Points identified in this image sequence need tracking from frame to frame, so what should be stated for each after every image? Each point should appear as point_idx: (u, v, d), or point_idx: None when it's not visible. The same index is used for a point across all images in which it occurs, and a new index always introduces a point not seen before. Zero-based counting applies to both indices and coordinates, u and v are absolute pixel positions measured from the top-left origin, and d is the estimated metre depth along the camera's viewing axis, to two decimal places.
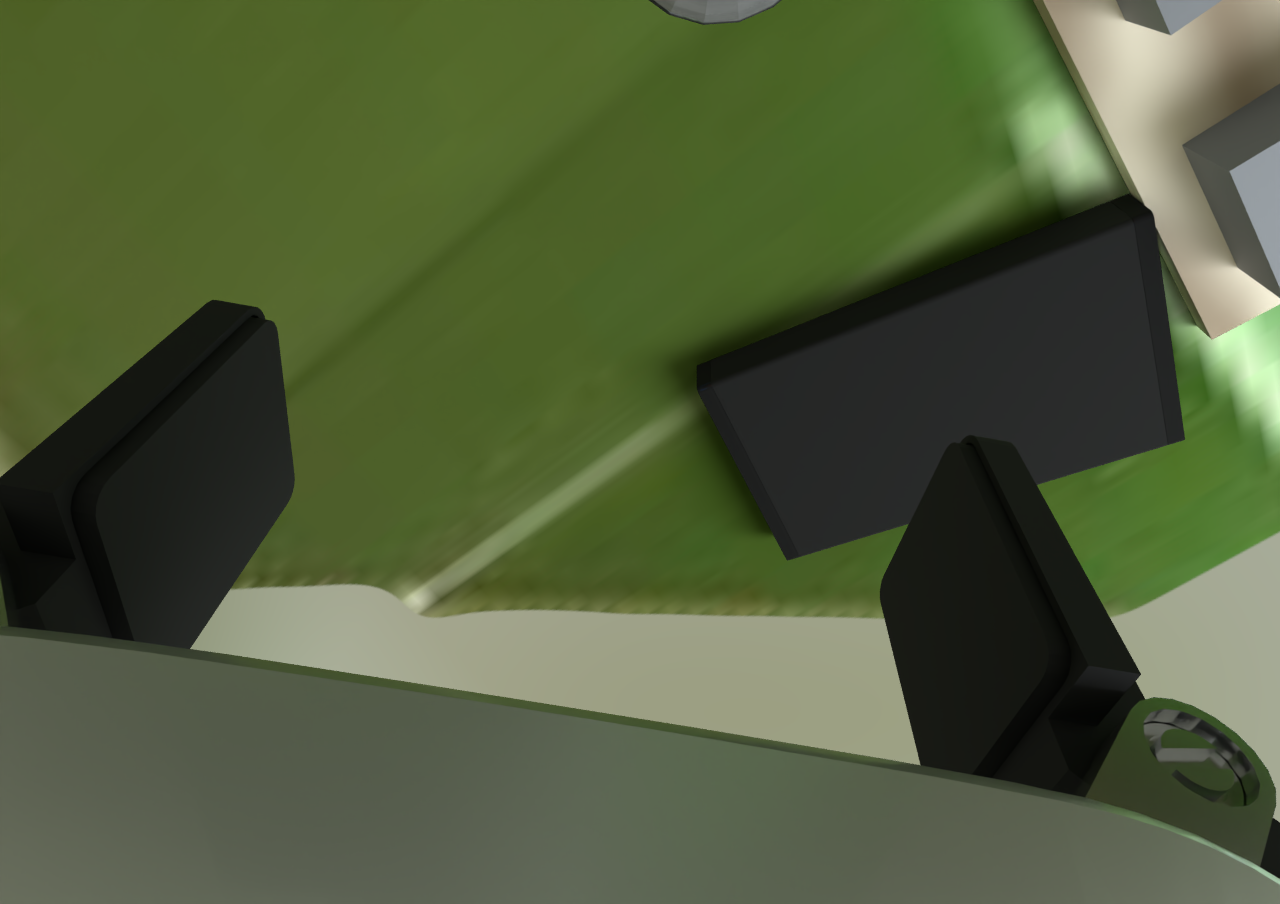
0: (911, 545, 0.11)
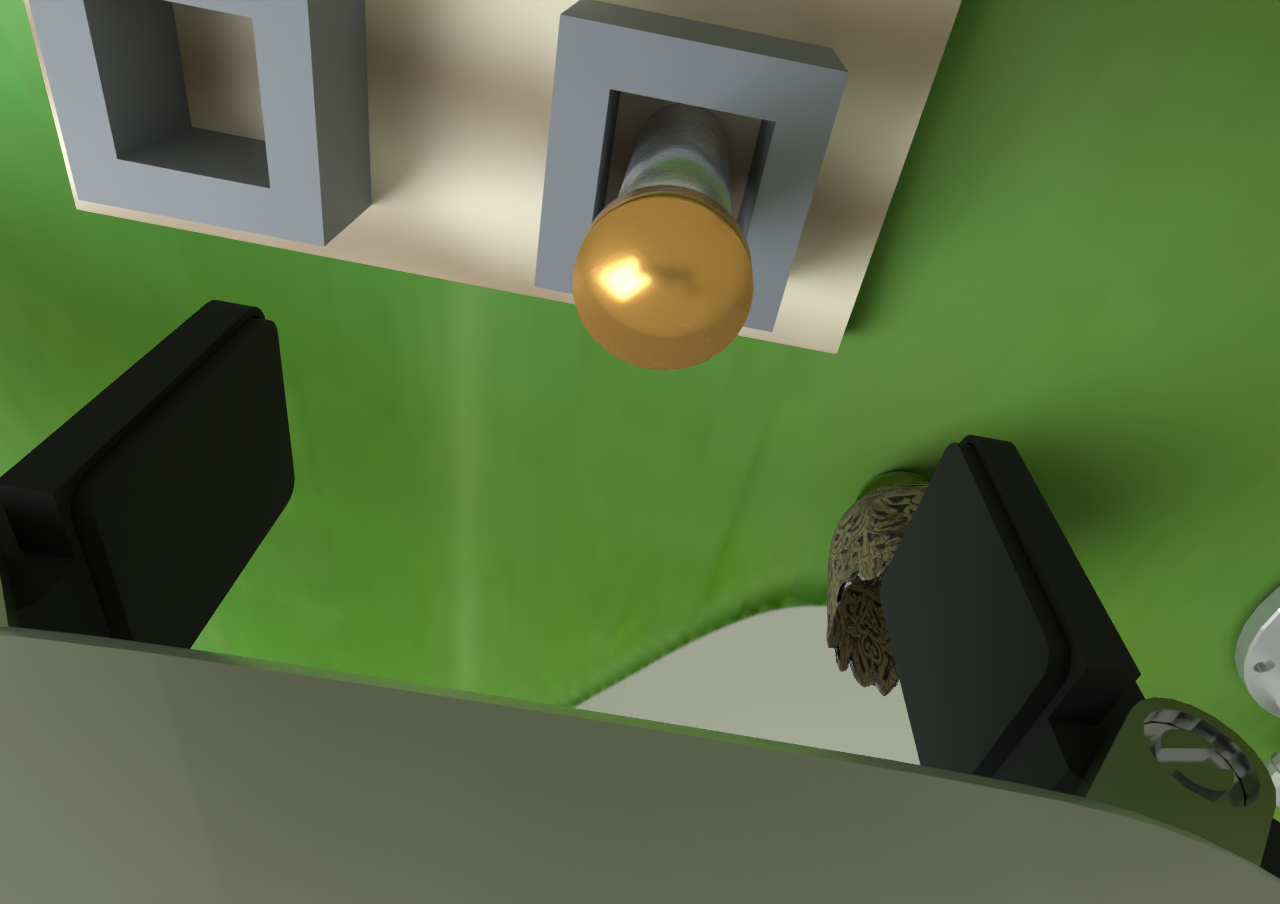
0: (911, 545, 0.11)
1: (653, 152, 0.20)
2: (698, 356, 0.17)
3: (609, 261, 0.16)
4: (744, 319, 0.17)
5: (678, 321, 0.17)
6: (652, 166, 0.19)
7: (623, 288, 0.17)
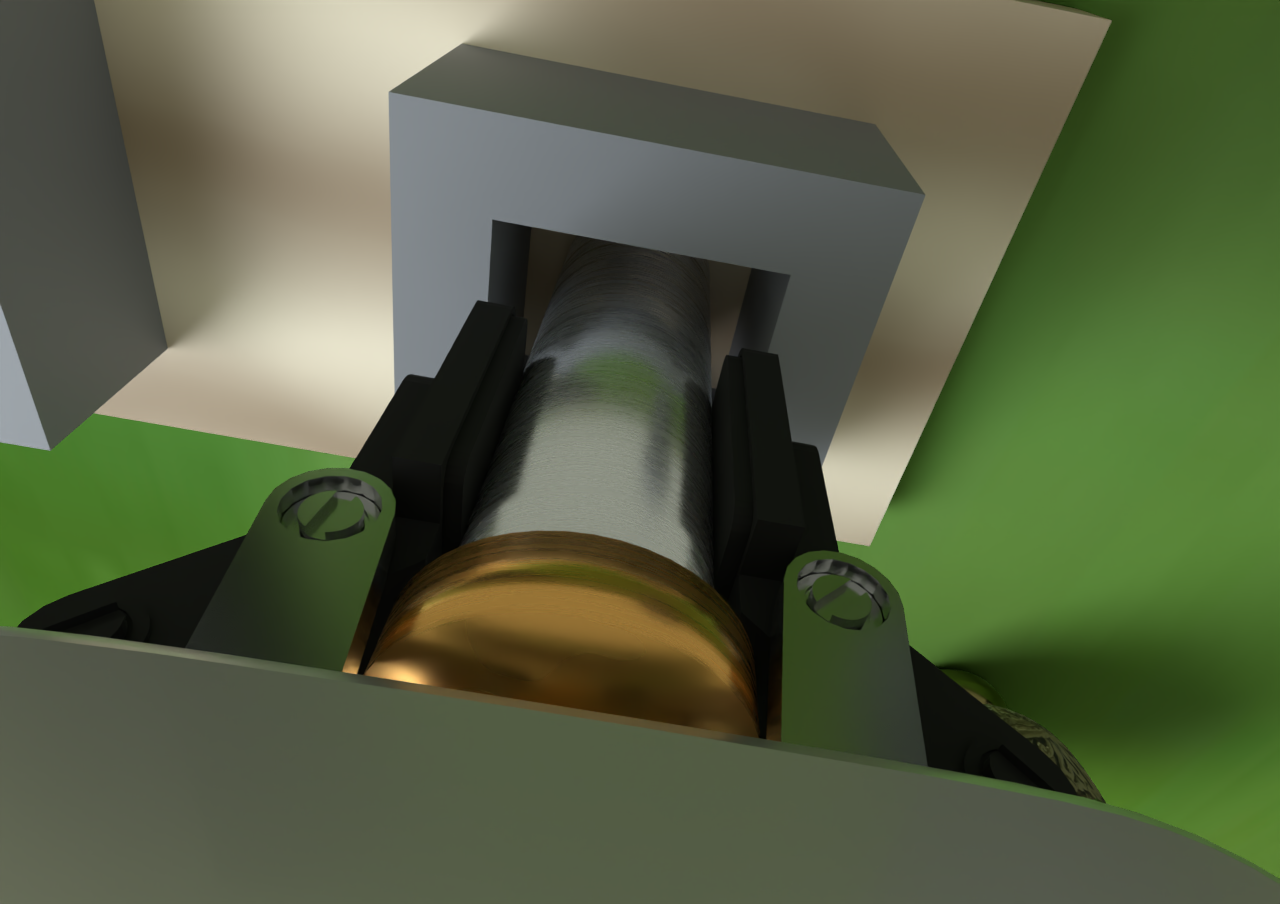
0: None
1: (568, 344, 0.11)
2: None
3: None
4: None
5: None
6: (557, 395, 0.10)
7: None
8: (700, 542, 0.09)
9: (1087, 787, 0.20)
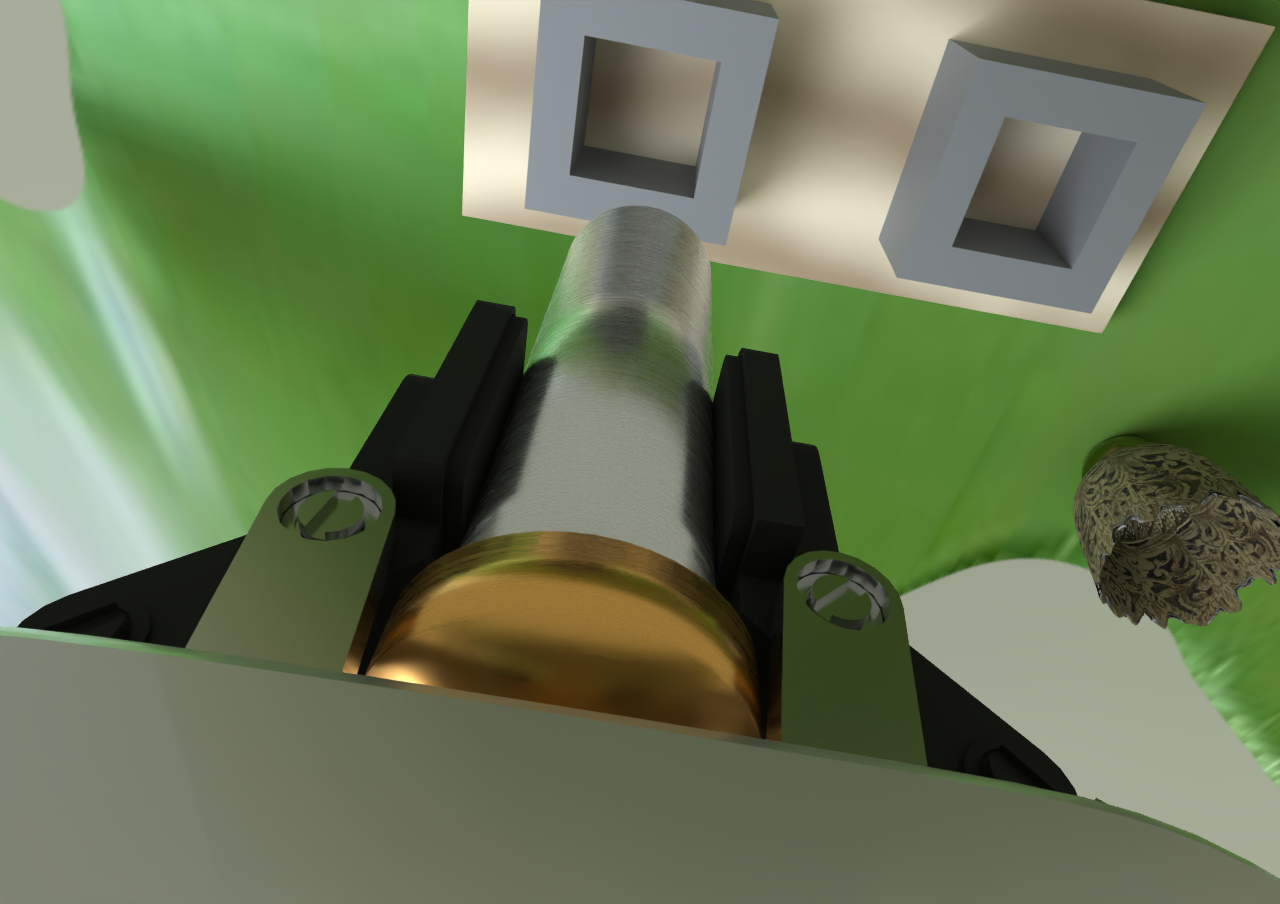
0: None
1: (569, 343, 0.11)
2: None
3: None
4: None
5: None
6: (559, 395, 0.10)
7: None
8: (702, 542, 0.09)
9: (1230, 475, 0.34)
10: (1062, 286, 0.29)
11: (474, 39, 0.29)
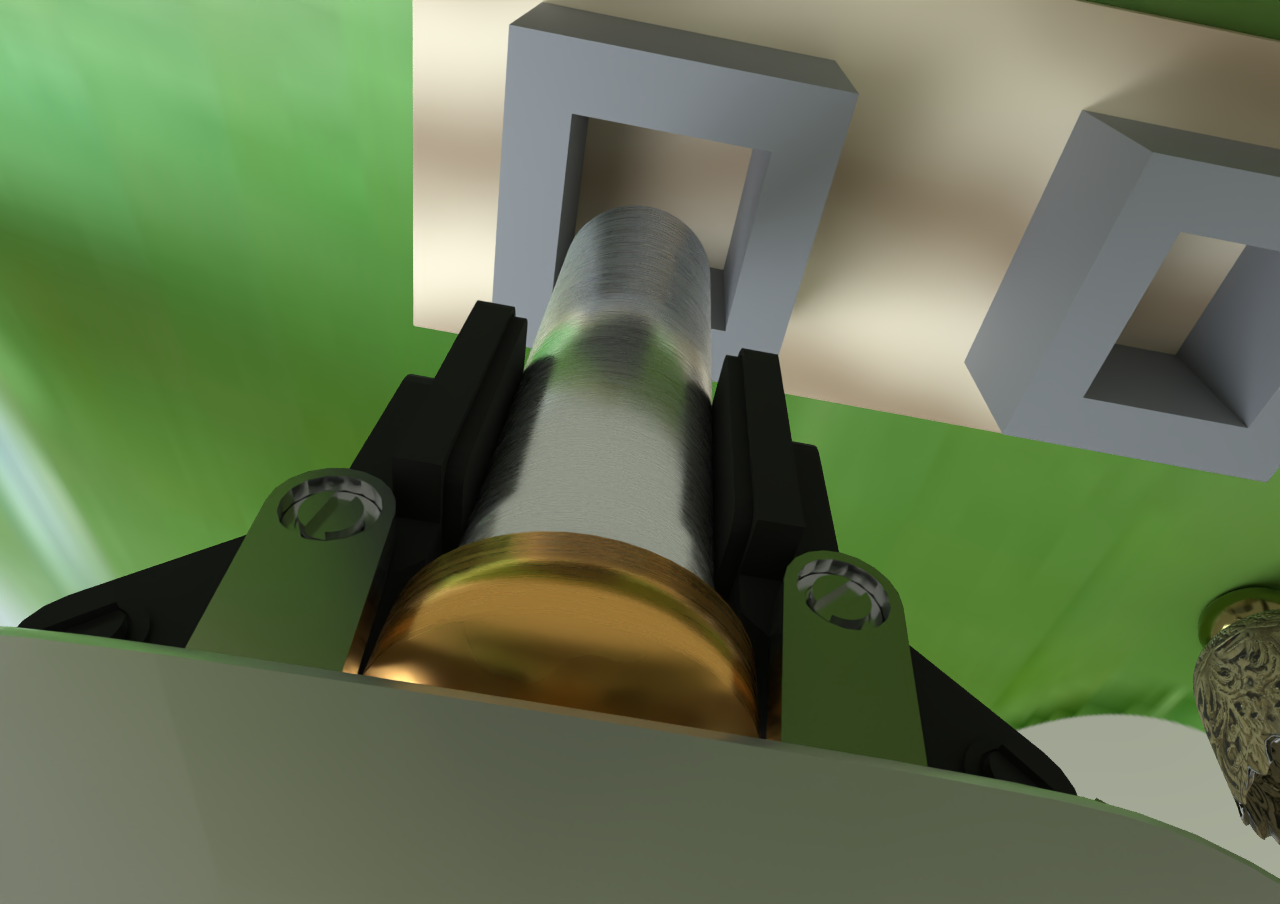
0: None
1: (567, 343, 0.11)
2: None
3: None
4: None
5: None
6: (557, 395, 0.10)
7: None
8: (700, 543, 0.09)
9: None
10: (1232, 448, 0.21)
11: (422, 103, 0.21)
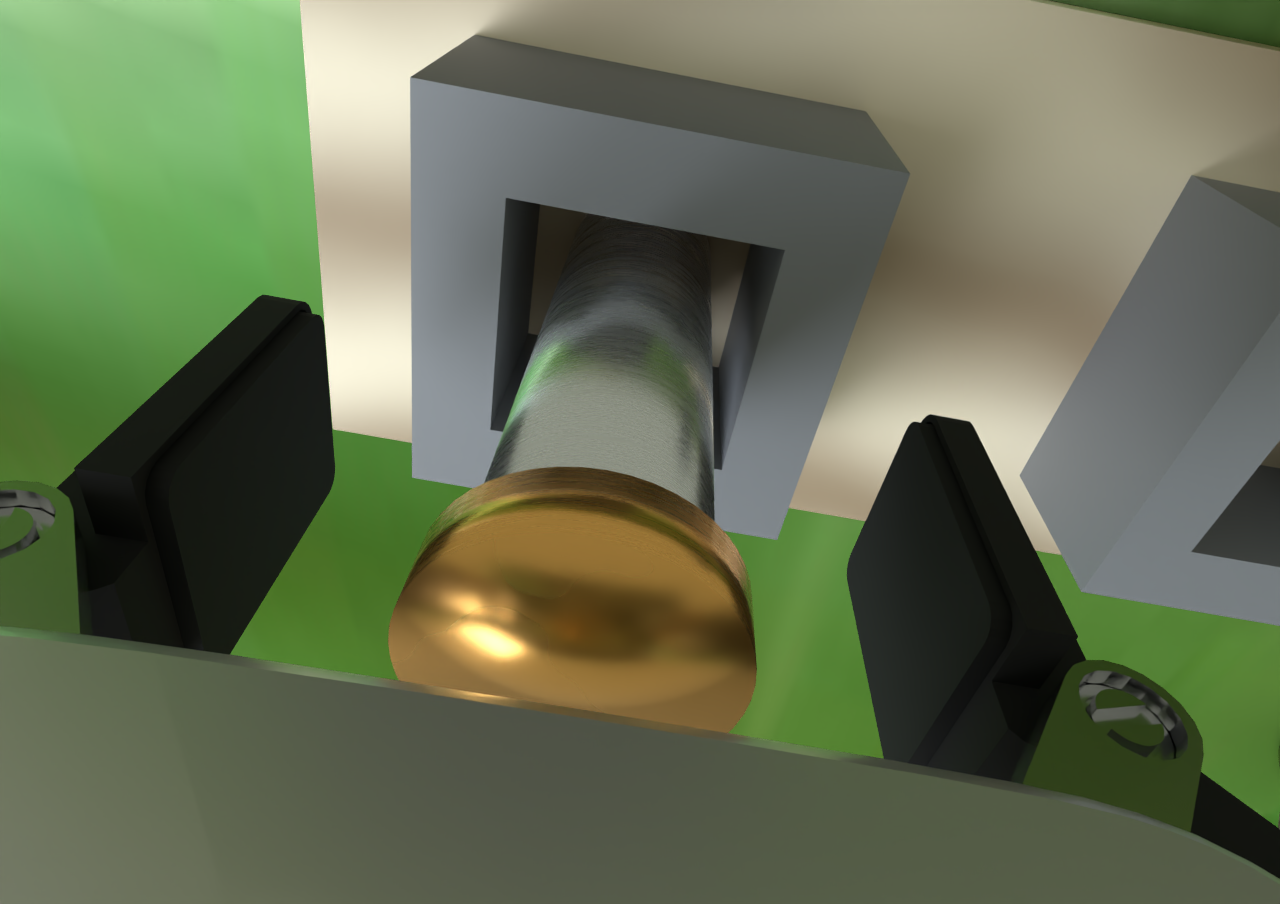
0: (876, 524, 0.11)
1: (578, 313, 0.12)
2: None
3: (459, 626, 0.08)
4: (738, 716, 0.08)
5: None
6: (570, 358, 0.11)
7: (493, 666, 0.08)
8: (702, 488, 0.10)
9: None
10: None
11: (325, 164, 0.16)
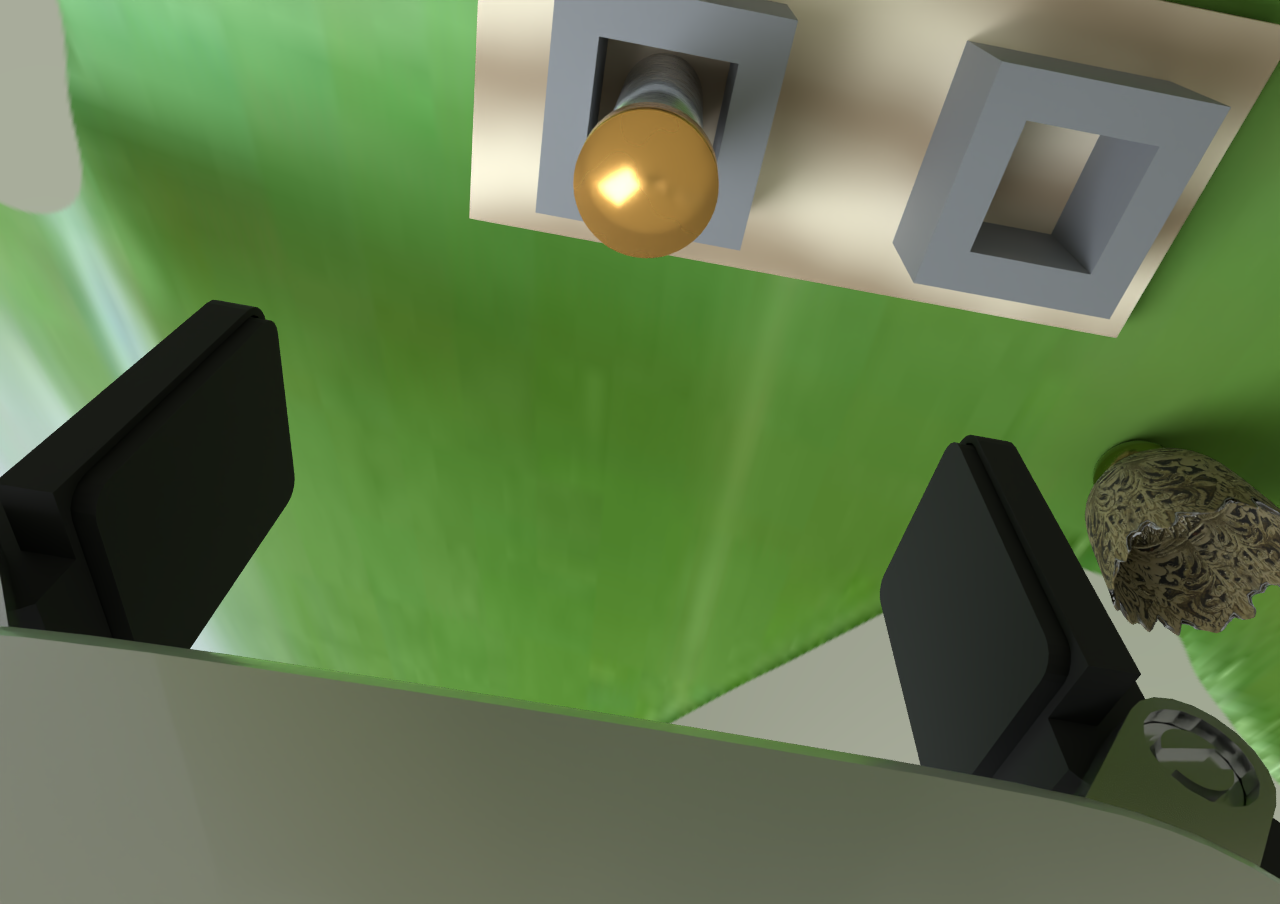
0: (911, 545, 0.11)
1: (637, 87, 0.24)
2: (675, 245, 0.21)
3: (603, 164, 0.20)
4: (712, 212, 0.21)
5: (659, 215, 0.21)
6: (636, 96, 0.23)
7: (614, 187, 0.21)
8: None
9: (1244, 480, 0.34)
10: (1081, 291, 0.29)
11: (483, 39, 0.29)
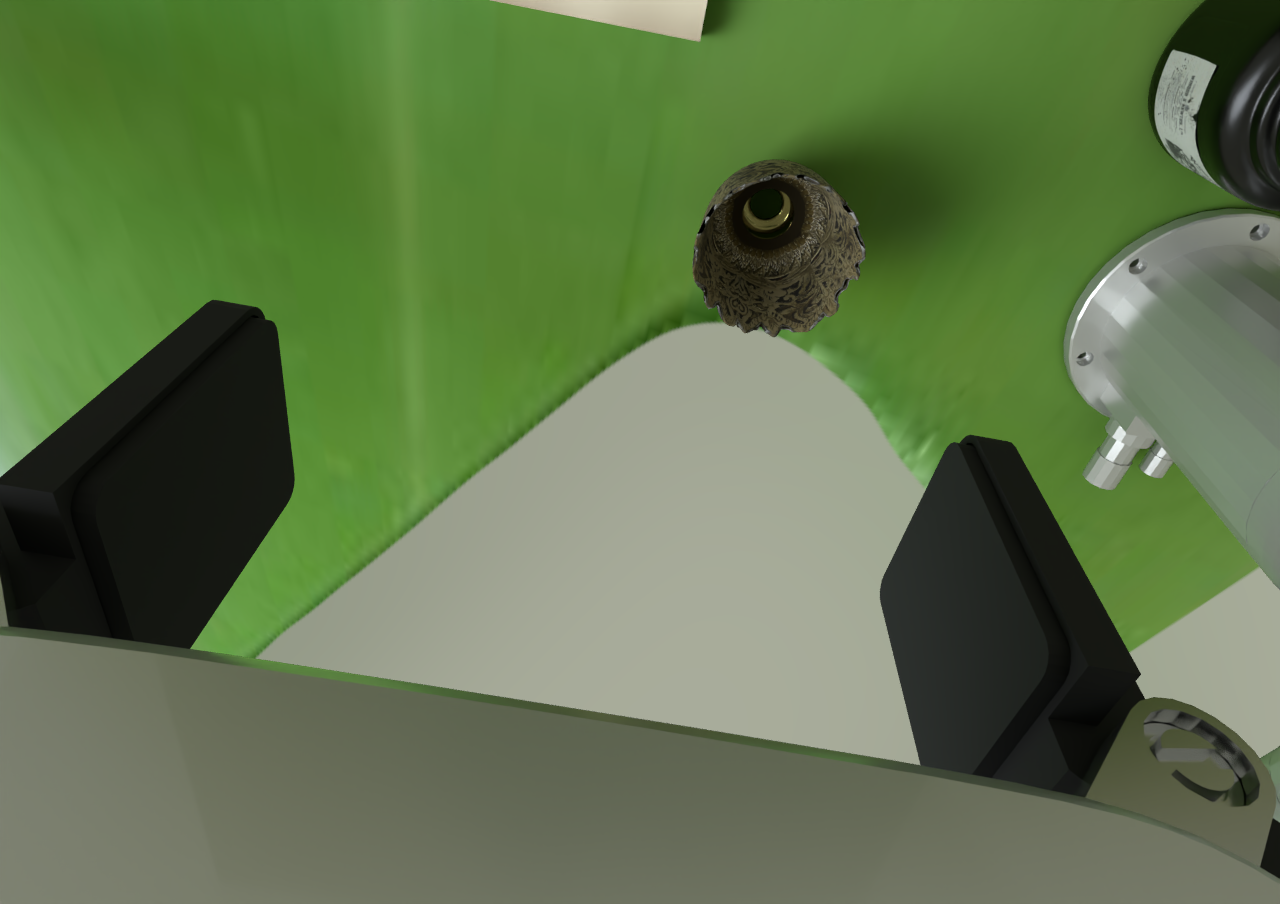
0: (912, 545, 0.11)
1: None
2: None
3: None
4: None
5: None
6: None
7: None
8: None
9: None
10: None
11: None
